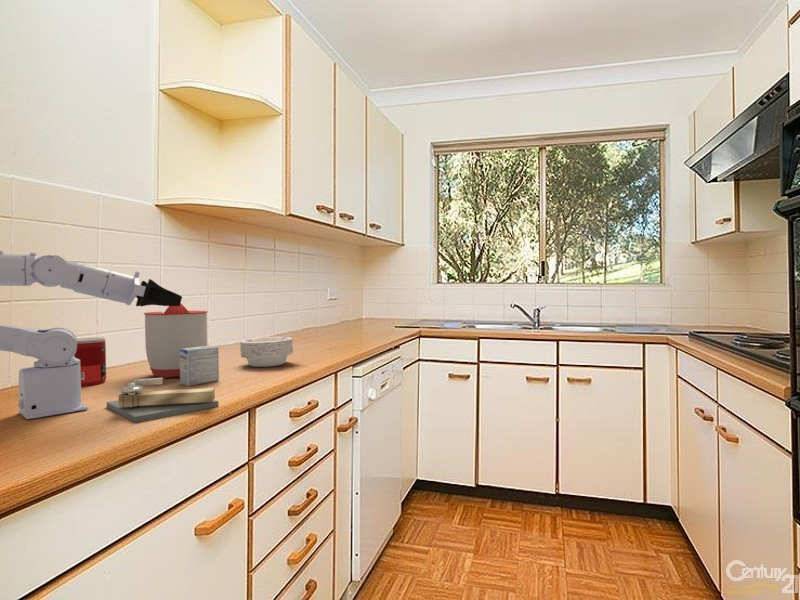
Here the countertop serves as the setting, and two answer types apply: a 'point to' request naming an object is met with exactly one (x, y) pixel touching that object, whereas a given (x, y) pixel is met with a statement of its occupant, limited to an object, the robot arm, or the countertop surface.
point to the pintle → (131, 390)
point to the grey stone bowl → (266, 351)
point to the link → (167, 397)
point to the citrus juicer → (172, 337)
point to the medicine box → (199, 365)
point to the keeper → (147, 382)
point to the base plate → (158, 409)
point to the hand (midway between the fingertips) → (177, 301)
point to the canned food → (91, 360)
